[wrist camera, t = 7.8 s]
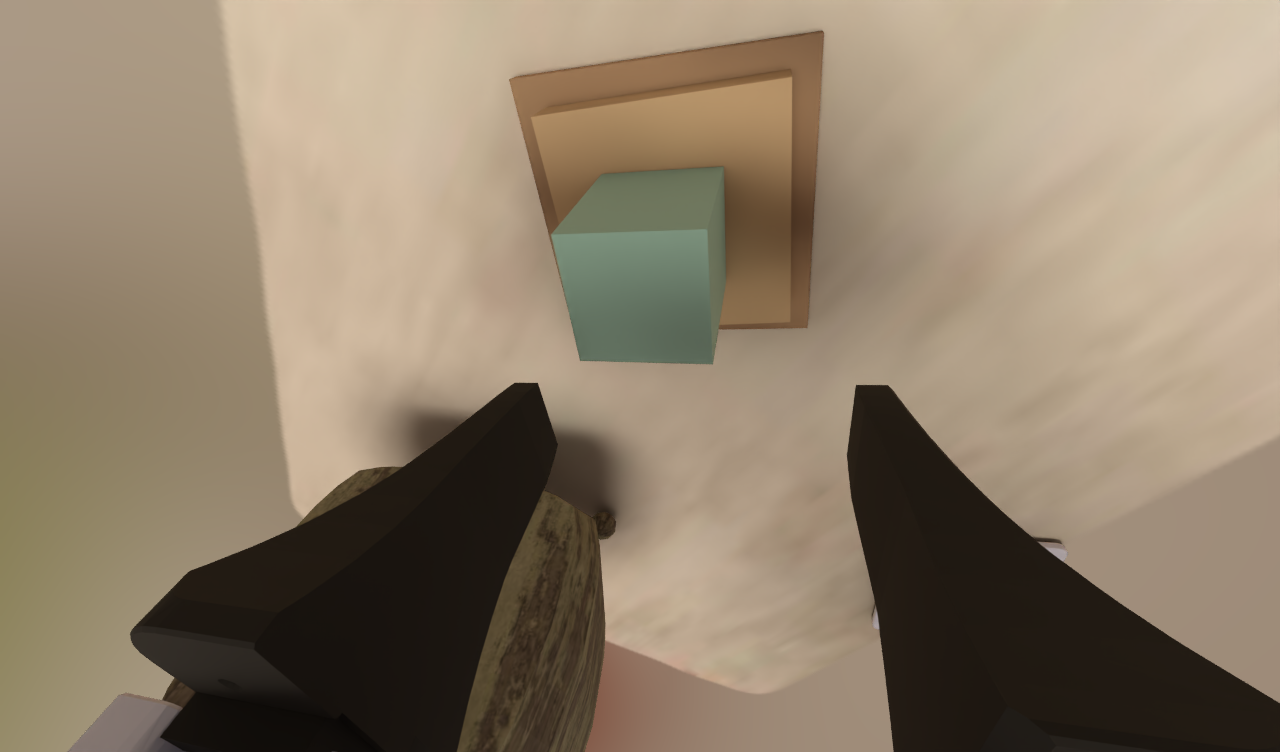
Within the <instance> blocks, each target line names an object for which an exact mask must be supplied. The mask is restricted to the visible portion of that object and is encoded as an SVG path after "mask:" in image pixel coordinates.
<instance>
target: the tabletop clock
mask: <svg viewBox="0 0 1280 752" xmlns="http://www.w3.org/2000/svg"><path fill="white" fill-rule="evenodd" d="M401 468H402V467H379V468H373V469H366V470H360V471H358V472H357V473H355V474H354V475H353V476H351V477H350V478H348V479H347V480H345V481H344V482H343V483H341V484H340V485H338V486H337V487H336V488H335V489H334V490H333V491H332V492H330V493H329V494H328V495H327V496H326V497H325V498H324V499H323V500H322V501H320V502H319V503H318V504H317V505H316V506H315V507H314V508H313V509H312V510H311V511H310V513H309V514H308V515H307V516H306V517H305V518H304V519H303V520H302V521H301V522H300V523H299V524H298V526H299V525H302V524H304V523H306V522H308V521H310V520H312V519H314V518H316V517H318V516H320V515H322V514H324V513H325V512H327V511H329V510H331V509H333V508H335V507H337V506H338V505H340V504H342V503H344V502H346V501H348V500H349V499H351V498H353V497H355V496H357V495H359V494H361V493H362V492H364V491H366V490H367V489H369V488H371V487H372V486H374V485H376V484H377V483H379V482H380V481H382V480H384V479H385V478H387V477H389V476H390V475H392V474H393V473H395V472H396V471H398V470H399V469H401ZM615 527H616V521H615V520H614V518H613V516H612V515H611V514H609V513H607V512H600V513H597V514H596V515H595V516H594V517H593V518H591V517H590V516H588V515H587V514H585V513H583V512H582V511H580V510H579V509H577V508H575V507H574V506H572V505H571V504H569V503H567V502H566V501H564V500H563V499H561V498H560V497H558V496H556V495H554V494H551V493H549V492H546V491H543V492H542V495H541V497H540V499H539V502H538V504H537V506H536V508H535V511H534V513H533V515H532V517H531V520H530V522H529V524H528V526H527V528H526V531H525V533H524V535H523V537H522V540H521V542H520V544H519V546H518V548H517V551H516V553H515V555H514V557H513V560H512V562H511V565H510V567H509V570H508V572H507V575H506V577H505V580H504V583H503V586H502V589H501V592H500V595H499V598H498V601H497V604H496V607H495V610H494V613H493V616H492V620H491V623H490V626H489V630H488V633H487V637H486V640H485V643H484V647H483V650H482V653H481V657H480V660H479V664H478V668H477V672H476V676H475V679H474V683H473V687H472V691H471V694H470V698H469V702H468V706H467V710H466V715H465V719H464V723H463V728H462V732H461V736H460V741H459V745H458V749H457V752H585V749H586V745H587V742H588V738H589V735H590V732H591V729H592V725H593V719H594V713H595V707H596V701H597V695H598V689H599V683H600V677H601V671H602V665H603V658H604V646H605V612H604V598H603V584H602V571H601V557H600V545H599V539H600V540H601V539H608V538H609V537H610V536H611V535H612V534H613V533H614V532H615ZM195 693H196V692H195V691H193V690H192V689H190V688H189V687H188V686H186V685H185V684H183V683H182V682H180V681H179V680H177V679H176V678H174V680H173V681H172V683H171V684H170V686H169V687H168V689H167V691H166V693H165V695H164V697H163V701H167V702H170V703H173V704H175V705H178V706H180V707H182V708H184V706H185V705H186V704H187V703H188V701H189V700H190V699H191V698H192V696H193V695H194V694H195Z"/></svg>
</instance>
